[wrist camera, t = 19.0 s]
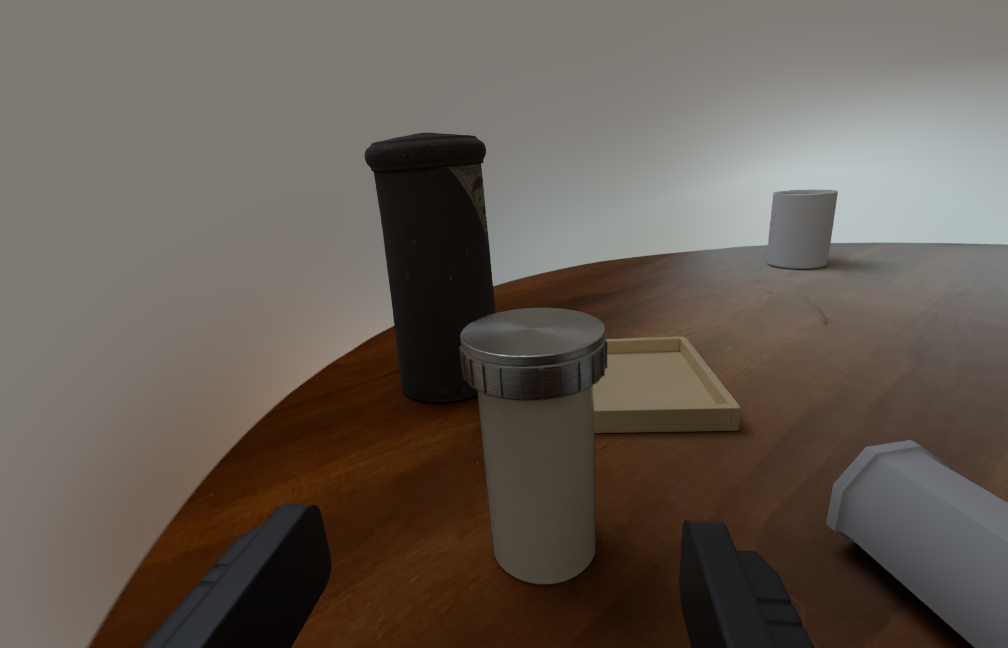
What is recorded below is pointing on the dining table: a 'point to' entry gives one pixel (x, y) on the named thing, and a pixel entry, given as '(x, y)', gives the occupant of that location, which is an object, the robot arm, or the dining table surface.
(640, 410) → the tray
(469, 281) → the container
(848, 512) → the tube
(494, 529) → the jar
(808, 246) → the mug
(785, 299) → the dining table surface
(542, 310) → the lid
